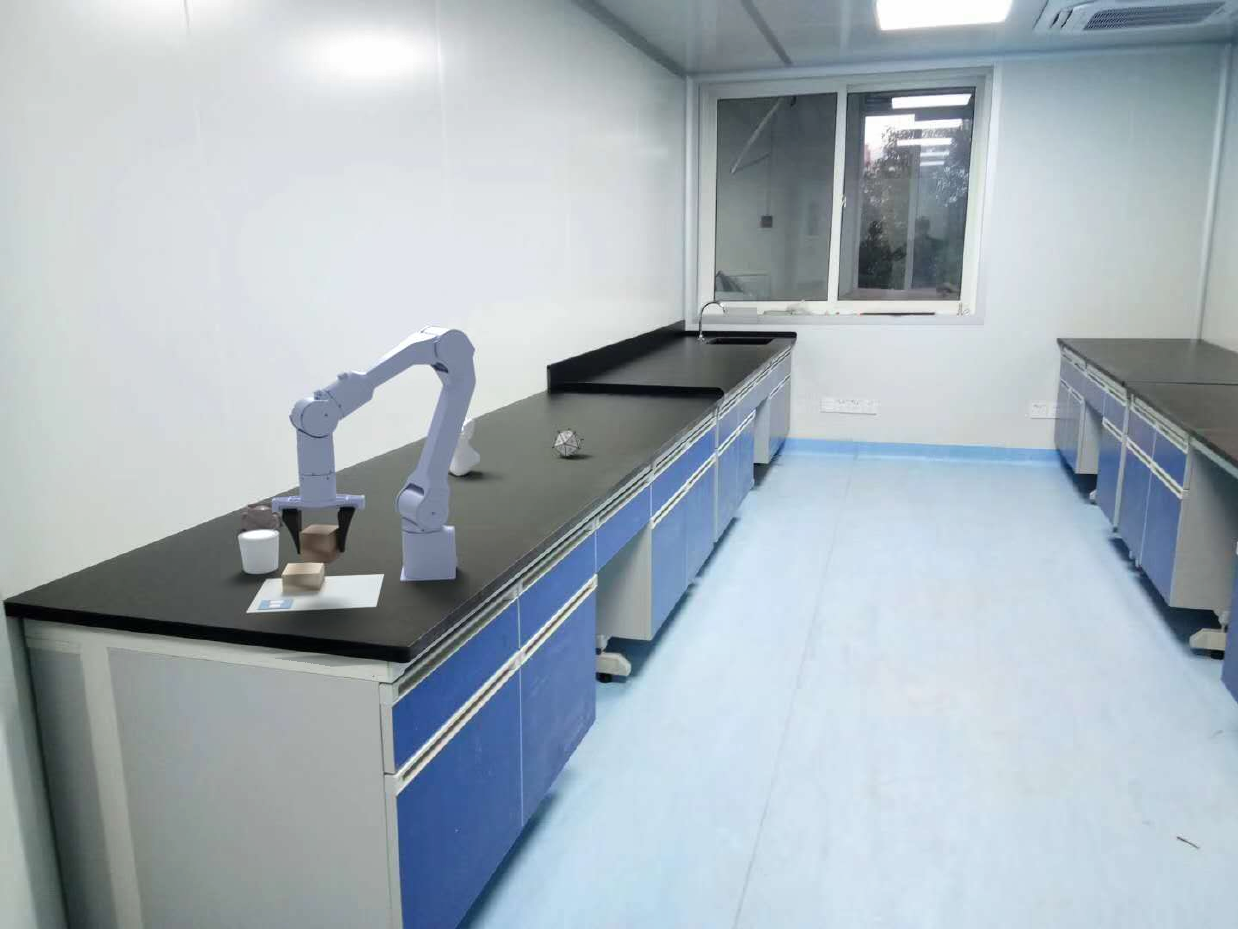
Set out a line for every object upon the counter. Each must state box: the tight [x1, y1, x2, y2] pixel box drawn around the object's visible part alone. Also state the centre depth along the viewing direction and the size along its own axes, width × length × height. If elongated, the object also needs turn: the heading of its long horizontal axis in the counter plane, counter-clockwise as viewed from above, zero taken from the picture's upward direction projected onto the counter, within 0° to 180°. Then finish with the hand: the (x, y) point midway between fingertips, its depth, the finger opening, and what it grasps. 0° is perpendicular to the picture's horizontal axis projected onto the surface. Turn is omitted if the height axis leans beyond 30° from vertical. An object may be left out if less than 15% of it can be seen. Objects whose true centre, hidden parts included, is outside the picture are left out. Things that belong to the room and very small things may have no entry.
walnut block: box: [299, 524, 343, 565], centre depth 158 cm, size 5×5×5 cm
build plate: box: [245, 573, 385, 614], centre depth 159 cm, size 20×16×1 cm
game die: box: [550, 427, 584, 458], centre depth 268 cm, size 9×8×10 cm
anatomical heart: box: [449, 416, 481, 477], centre depth 244 cm, size 10×11×15 cm
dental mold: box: [241, 501, 284, 532], centre depth 197 cm, size 8×7×5 cm
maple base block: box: [281, 562, 326, 592], centre depth 162 cm, size 6×6×3 cm
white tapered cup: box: [237, 529, 280, 575], centre depth 170 cm, size 7×7×7 cm
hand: (321, 551), depth 158 cm, fingers closed on walnut block, 6 cm apart
